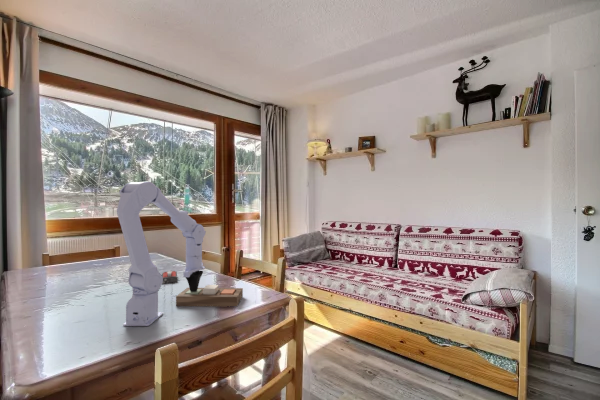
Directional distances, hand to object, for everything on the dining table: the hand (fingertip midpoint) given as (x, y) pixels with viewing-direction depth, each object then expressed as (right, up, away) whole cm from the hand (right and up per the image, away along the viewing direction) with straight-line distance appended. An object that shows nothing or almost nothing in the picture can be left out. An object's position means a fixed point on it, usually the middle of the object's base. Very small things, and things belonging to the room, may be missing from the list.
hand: (193, 291), depth 108 cm
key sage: (0, -2, 0) cm, 2 cm away
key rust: (+13, -2, 0) cm, 13 cm away
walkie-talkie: (-22, -4, +25) cm, 33 cm away
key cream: (+6, -1, 0) cm, 7 cm away
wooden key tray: (+6, -4, 0) cm, 8 cm away
